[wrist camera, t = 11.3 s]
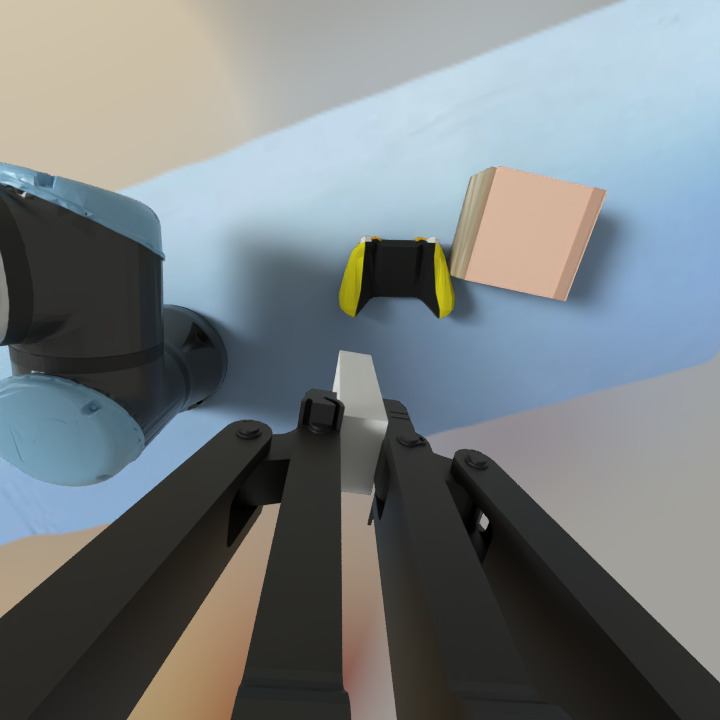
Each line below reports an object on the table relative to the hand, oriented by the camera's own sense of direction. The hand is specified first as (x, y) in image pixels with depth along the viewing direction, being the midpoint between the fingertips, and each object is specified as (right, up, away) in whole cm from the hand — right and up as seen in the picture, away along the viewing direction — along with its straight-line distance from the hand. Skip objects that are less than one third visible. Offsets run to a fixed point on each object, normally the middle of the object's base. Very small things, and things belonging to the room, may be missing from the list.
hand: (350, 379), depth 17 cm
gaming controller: (+5, +12, +32) cm, 35 cm away
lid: (+20, +15, +23) cm, 34 cm away
